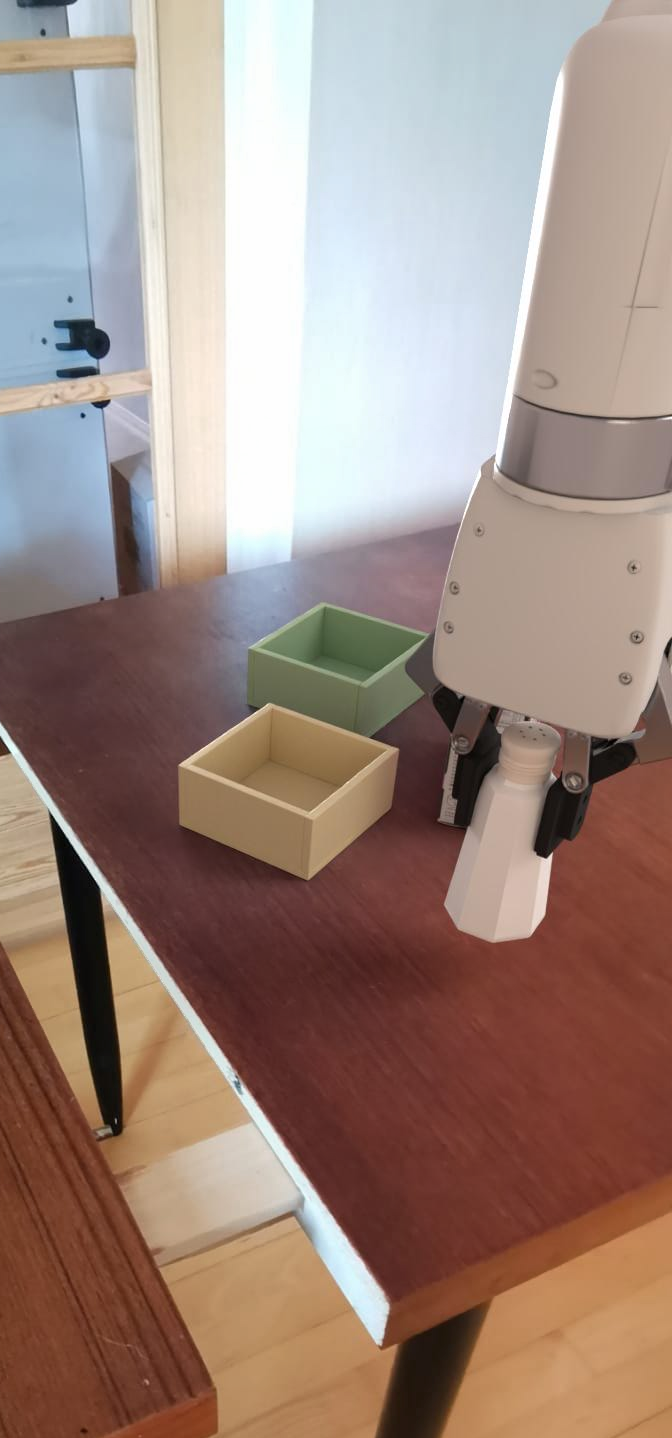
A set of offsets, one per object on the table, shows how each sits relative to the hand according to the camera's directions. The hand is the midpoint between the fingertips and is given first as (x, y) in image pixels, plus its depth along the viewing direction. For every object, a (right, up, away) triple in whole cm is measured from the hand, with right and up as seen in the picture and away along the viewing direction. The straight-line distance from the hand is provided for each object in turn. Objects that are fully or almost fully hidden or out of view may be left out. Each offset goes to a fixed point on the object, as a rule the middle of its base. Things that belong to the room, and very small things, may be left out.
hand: (512, 825), depth 56 cm
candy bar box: (+4, +6, +19) cm, 21 cm away
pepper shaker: (0, -4, +4) cm, 6 cm away
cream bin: (-10, +4, +17) cm, 20 cm away
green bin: (-5, +15, +29) cm, 33 cm away
